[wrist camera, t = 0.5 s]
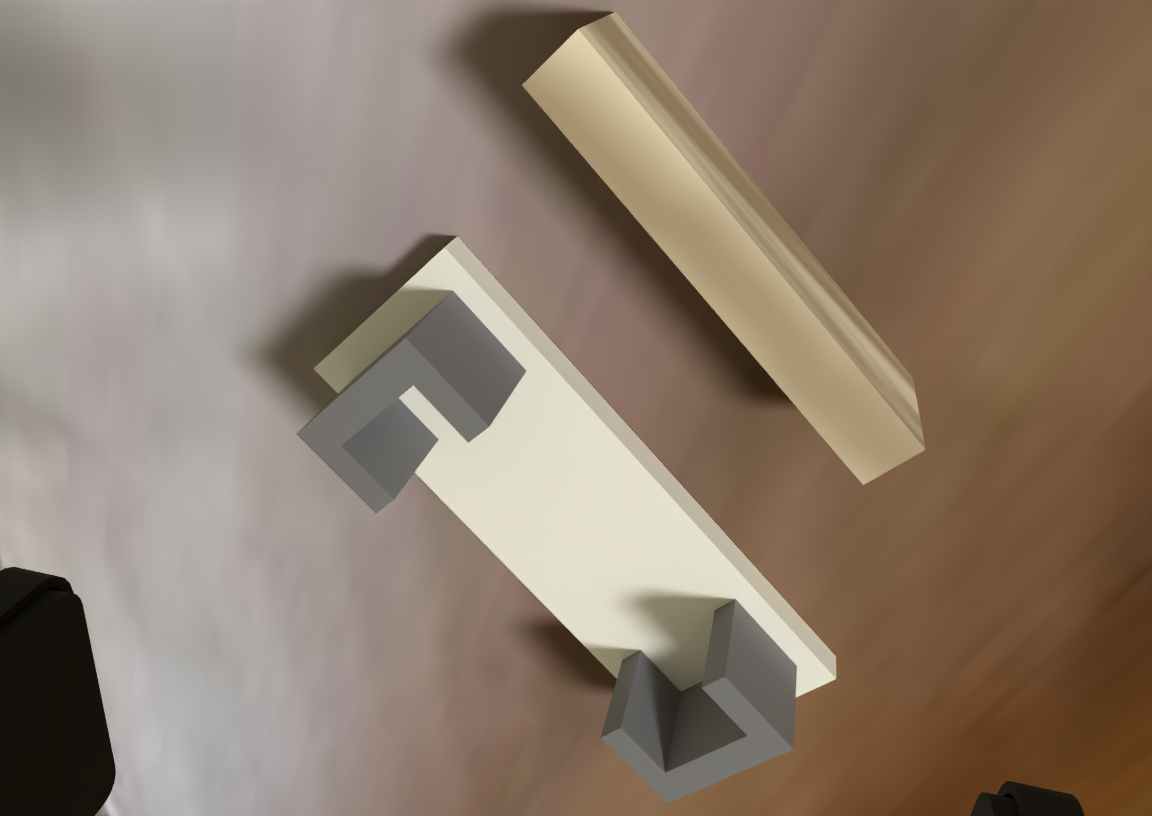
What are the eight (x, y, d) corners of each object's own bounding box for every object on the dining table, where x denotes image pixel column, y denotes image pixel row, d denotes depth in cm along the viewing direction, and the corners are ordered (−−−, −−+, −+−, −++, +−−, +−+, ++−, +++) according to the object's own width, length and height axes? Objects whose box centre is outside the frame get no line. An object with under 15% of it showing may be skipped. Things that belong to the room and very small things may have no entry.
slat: (616, 11, 34) (577, 29, 29) (912, 375, 38) (925, 449, 32) (567, 59, 35) (521, 85, 30) (858, 408, 39) (863, 485, 34)
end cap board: (457, 236, 39) (394, 289, 34) (835, 656, 44) (836, 764, 39) (328, 355, 43) (254, 420, 38) (688, 726, 49) (670, 832, 43)
